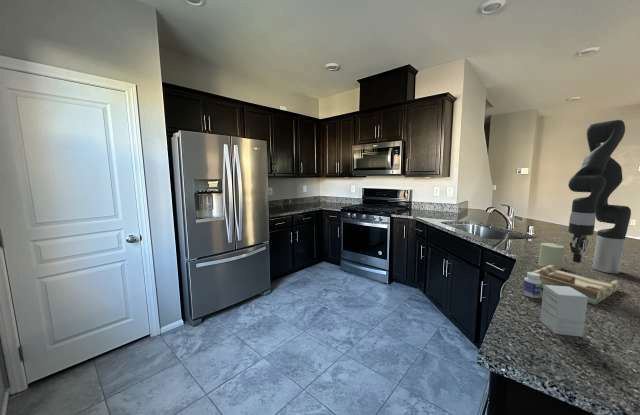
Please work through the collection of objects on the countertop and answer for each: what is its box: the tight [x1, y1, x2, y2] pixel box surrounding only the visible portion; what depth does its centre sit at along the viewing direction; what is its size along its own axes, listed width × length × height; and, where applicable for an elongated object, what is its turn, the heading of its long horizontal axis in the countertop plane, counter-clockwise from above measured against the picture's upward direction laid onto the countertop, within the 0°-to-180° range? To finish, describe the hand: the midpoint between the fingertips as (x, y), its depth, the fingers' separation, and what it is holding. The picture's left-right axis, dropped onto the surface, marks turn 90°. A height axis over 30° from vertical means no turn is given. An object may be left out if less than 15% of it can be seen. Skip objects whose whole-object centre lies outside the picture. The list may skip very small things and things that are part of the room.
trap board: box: [525, 265, 620, 305], centre depth 109 cm, size 26×22×5 cm
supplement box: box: [539, 285, 588, 338], centre depth 78 cm, size 7×7×13 cm
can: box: [537, 242, 565, 270], centre depth 132 cm, size 9×9×12 cm
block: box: [550, 272, 576, 284], centre depth 105 cm, size 6×6×4 cm
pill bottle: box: [522, 271, 542, 299], centre depth 100 cm, size 5×5×9 cm
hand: (576, 262), depth 109 cm, fingers closed
